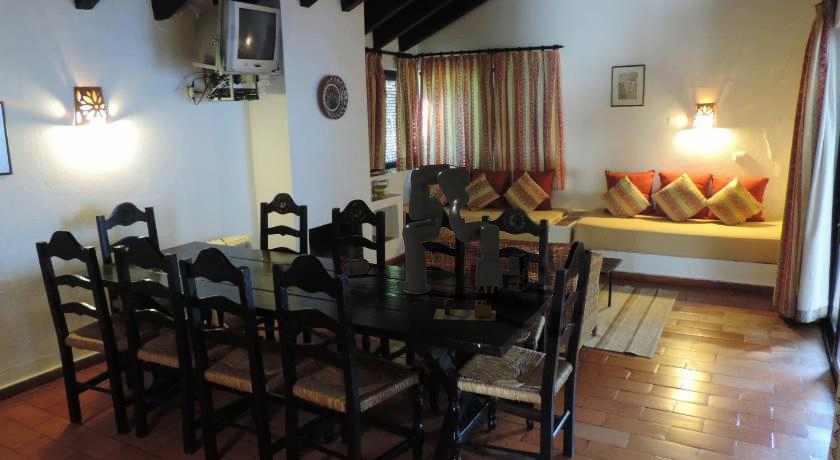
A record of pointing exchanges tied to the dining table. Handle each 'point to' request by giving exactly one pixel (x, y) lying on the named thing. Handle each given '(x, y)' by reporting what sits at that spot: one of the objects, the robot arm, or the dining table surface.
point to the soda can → (474, 279)
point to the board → (459, 314)
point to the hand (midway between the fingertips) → (488, 302)
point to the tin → (355, 267)
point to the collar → (482, 309)
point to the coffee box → (518, 272)
